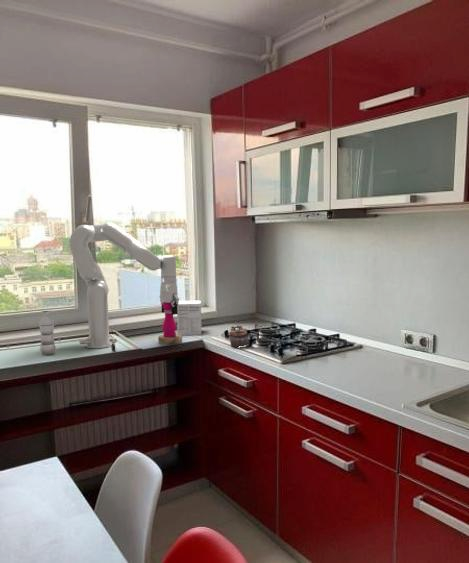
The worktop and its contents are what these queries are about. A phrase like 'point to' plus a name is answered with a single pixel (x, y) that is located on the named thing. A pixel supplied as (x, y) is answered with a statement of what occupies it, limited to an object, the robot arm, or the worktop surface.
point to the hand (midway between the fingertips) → (169, 313)
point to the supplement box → (189, 318)
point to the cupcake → (238, 336)
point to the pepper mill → (168, 321)
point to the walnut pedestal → (170, 339)
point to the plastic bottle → (47, 334)
